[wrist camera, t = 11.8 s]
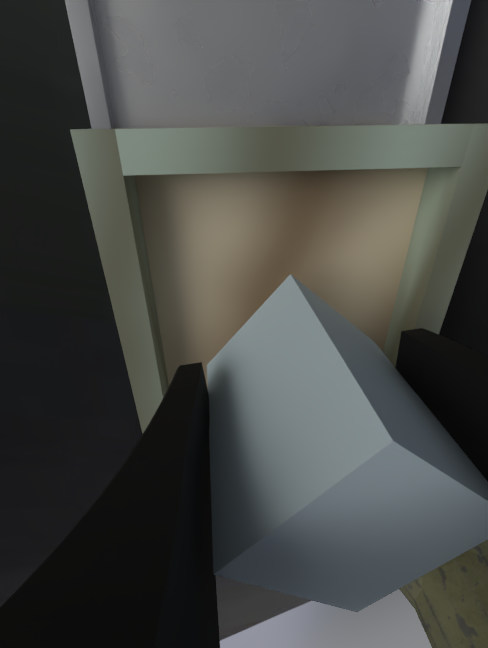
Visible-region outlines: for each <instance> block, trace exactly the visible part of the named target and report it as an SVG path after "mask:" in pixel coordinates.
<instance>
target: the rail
mask: <svg viewBox="0 0 488 648" xmlns="http://www.w3.org/2000/svg"><path fill="white" fill-rule="evenodd" d="M65 3H66V8H67V12H68V17H69V22H70V27H71V32H72V36H73V41H74V46H75V51H76V55H77V60H78V65H79V70H80V74H81V79H82V84H83V89H84V94H85V98H86V103H87V108H88V113H89V117H90V122H91V127H92V129H122V128H195V127H267V126H340V125H413V124H441V120H442V116H443V112H444V108H445V104H446V100H447V96H448V92H449V88H450V84H451V80H452V76H453V72H454V68H455V64H456V60H457V56H458V52H459V47H460V43H461V39H462V35H463V31H464V27H465V23H466V19H467V15H468V11H469V7H470V3H471V0H65Z"/></svg>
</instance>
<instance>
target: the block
mask: <svg viewBox="0 0 488 648" xmlns="http://www.w3.org/2000/svg"><path fill="white" fill-rule="evenodd" d="M207 383H208V394H209V417H210V423H209V446H210V478H211V510H212V542H213V574H214V575H217V576H221V577H225V578H229V579H232V580H236V581H240V582H244V583H248V584H252V585H255V586H259V587H263V588H267V589H271V590H274V591H278V592H282V593H286V594H290V595H293V596H297V597H301V598H305V599H309V600H312V601H316V602H320V603H324V604H328V605H331V606H335V607H339V608H343V609H347V610H351V611H355V612H358V611H360V610H362V609H363V608H365V607H367V606H369V605H371V604H372V603H374V602H376V601H378V600H380V599H381V598H383V597H385V596H387V595H388V594H390V593H392V592H394V591H396V590H398V589H399V588H401V587H403V586H405V585H407V584H408V583H410V582H412V581H414V580H416V579H417V578H419V577H421V576H423V575H425V574H426V573H428V572H430V571H432V570H434V569H435V568H437V567H439V566H441V565H443V564H444V563H446V562H448V561H450V560H452V559H453V558H455V557H457V556H459V555H461V554H462V553H464V552H466V551H468V550H470V549H471V548H473V547H475V546H477V545H479V544H480V543H482V542H484V541H486V540H488V481H487V480H486V479H485V478H484V476H483V475H482V474H481V473H480V471H479V470H478V469H477V468H476V466H475V465H474V464H473V463H472V462H471V460H470V459H469V458H468V457H467V455H466V454H465V453H464V452H463V450H462V449H461V448H460V447H459V446H458V444H457V443H456V442H455V441H454V439H453V438H452V437H451V436H450V434H449V433H448V432H447V431H446V429H445V428H444V427H443V426H442V425H441V423H440V422H439V421H438V420H437V418H436V417H435V416H434V415H433V413H432V412H431V411H430V410H429V409H428V407H427V406H426V405H425V404H424V402H423V401H422V400H421V399H420V397H419V396H418V395H417V394H416V393H415V392H414V390H413V389H412V388H411V387H410V385H409V384H408V383H407V382H406V380H405V379H404V378H403V377H402V376H401V374H400V373H399V372H398V371H397V369H396V368H395V367H394V365H393V364H392V363H391V362H390V360H389V359H388V358H387V357H386V355H385V354H384V353H383V352H382V351H381V349H380V348H379V347H378V346H377V344H376V343H375V342H374V341H373V340H372V339H370V338H369V337H368V336H367V335H365V334H364V333H363V332H362V331H360V330H359V329H358V328H357V327H356V326H354V325H353V324H352V323H351V322H349V321H348V320H347V319H346V318H344V317H343V316H342V315H341V314H339V313H338V312H337V311H336V310H334V309H333V308H332V307H331V306H330V305H328V304H327V303H326V302H325V301H323V300H322V299H321V298H320V297H318V296H317V295H316V294H315V293H313V292H312V291H311V290H310V289H308V288H307V287H306V286H305V285H304V284H302V283H301V282H300V281H299V280H297V279H296V278H295V277H294V276H292V275H291V274H290V275H289V276H288V277H287V278H286V279H285V280H284V282H283V283H282V284H281V285H280V286H279V287H278V288H277V289H276V290H275V291H274V292H273V294H272V295H271V296H270V297H269V298H268V299H267V300H266V301H265V302H264V303H263V304H262V306H261V307H260V308H259V309H258V310H257V311H256V312H255V313H254V314H253V315H252V316H251V318H250V319H249V320H248V321H247V322H246V323H245V324H244V325H243V326H242V327H241V328H240V330H239V331H238V332H237V333H236V334H235V335H234V336H233V337H232V338H231V339H230V340H229V341H228V343H227V344H226V345H225V346H224V347H223V348H222V349H221V350H220V351H219V352H218V353H217V355H216V356H215V357H214V358H213V359H212V360H211V361H210V362H209V363H208V364H207Z"/></svg>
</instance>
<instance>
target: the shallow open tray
mask: <svg viewBox="0 0 488 648" xmlns="http://www.w3.org/2000/svg"><path fill="white" fill-rule="evenodd" d="M70 131H71V135H72V139H73V144H74V148H75V152H76V156H77V160H78V165H79V169H80V173H81V177H82V181H83V186H84V190H85V194H86V198H87V202H88V206H89V211H90V215H91V219H92V223H93V227H94V232H95V236H96V240H97V244H98V248H99V253H100V257H101V261H102V265H103V269H104V274H105V278H106V282H107V286H108V290H109V295H110V299H111V303H112V307H113V311H114V316H115V320H116V324H117V328H118V332H119V336H120V341H121V345H122V349H123V353H124V357H125V362H126V366H127V370H128V374H129V378H130V383H131V387H132V391H133V395H134V399H135V404H136V408H137V412H138V416H139V420H140V425H141V429H142V433H144V431H145V430H146V428H147V426H148V425H149V423H150V421H151V419H152V418H153V416H154V414H155V412H156V410H157V409H158V407H159V405H160V403H161V401H162V399H163V397H164V395H165V394H166V392H167V390H168V388H169V385H170V383H171V381H172V379H173V377H174V375H175V372H176V370H177V369H178V367H179V366H180V365H186V364H192V363H199V362H202V366H203V370H204V375H205V380H206V384H207V389H208V383H207V364H208V363H209V362H210V361H211V360H212V359H213V358H214V357H215V356H216V355H217V353H218V352H219V351H220V350H221V349H222V348H223V347H224V346H225V345H226V344H227V343H228V341H229V340H230V339H231V338H232V337H233V336H234V335H235V334H236V333H237V332H238V331H239V330H240V328H241V327H242V326H243V325H244V324H245V323H246V322H247V321H248V320H249V319H250V318H251V316H252V315H253V314H254V313H255V312H256V311H257V310H258V309H259V308H260V307H261V306H262V304H263V303H264V302H265V301H266V300H267V299H268V298H269V297H270V296H271V295H272V294H273V292H274V291H275V290H276V289H277V288H278V287H279V286H280V285H281V284H282V283H283V282H284V280H285V279H286V278H287V277H288V276H289V275H290V274H291V275H292V276H294V277H295V278H296V279H297V280H299V281H300V282H301V283H302V284H304V285H305V286H306V287H307V288H308V289H310V290H311V291H312V292H313V293H315V294H316V295H317V296H318V297H320V298H321V299H322V300H323V301H325V302H326V303H327V304H328V305H330V306H331V307H332V308H333V309H334V310H336V311H337V312H338V313H339V314H341V315H342V316H343V317H344V318H346V319H347V320H348V321H349V322H351V323H352V324H353V325H354V326H356V327H357V328H358V329H359V330H360V331H362V332H363V333H364V334H365V335H367V336H368V337H369V338H370V339H372V340H373V341H374V342H375V343H376V344H377V346H378V347H379V348H380V349H381V351H382V352H383V353H384V354H385V355H386V357H387V358H388V359H389V360H390V362H391V363H392V364H393V365H394V367H396V361H397V355H398V349H399V342H400V336H401V331H406V330H413V329H419V328H423V329H426V330H429V331H431V332H434V333H436V334H439V332H440V329H441V326H442V323H443V320H444V317H445V315H446V312H447V309H448V306H449V303H450V300H451V297H452V294H453V291H454V288H455V285H456V282H457V279H458V276H459V273H460V270H461V267H462V264H463V261H464V258H465V255H466V252H467V249H468V246H469V243H470V240H471V237H472V234H473V231H474V228H475V225H476V222H477V220H478V217H479V214H480V211H481V208H482V205H483V202H484V199H485V196H486V193H487V190H488V124H413V125H340V126H267V127H195V128H122V129H76V130H70Z"/></svg>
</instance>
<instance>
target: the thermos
mask: <svg viewBox="0 0 488 648" xmlns="http://www.w3.org/2000/svg"><path fill="white" fill-rule="evenodd" d="M399 589H400V590H401V592H402V593H403V594H404V595H405V597H406V598H407V599H408V600H409V602H410V603H411V604H412V606H413V607H414V608H415V610H416V612H417V614H418V617H419V619H420V621H421V623H422V626H423V628H424V630H425V632H426V634H427V637H428V639H429V641H430V643H431V646H432V648H488V540H486V541H484V542H482V543H480V544H479V545H477V546H475V547H473V548H471V549H470V550H468V551H466V552H464V553H462V554H461V555H459V556H457V557H455V558H453V559H452V560H450V561H448V562H446V563H444V564H443V565H441V566H439V567H437V568H435V569H434V570H432V571H430V572H428V573H426V574H425V575H423V576H421V577H419V578H417V579H416V580H414V581H412V582H410V583H408V584H407V585H405V586H403V587H401V588H399Z"/></svg>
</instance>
